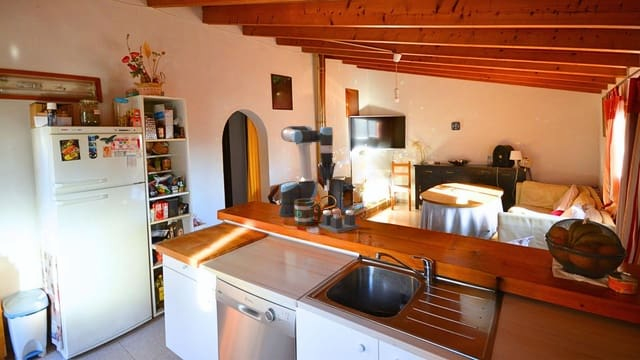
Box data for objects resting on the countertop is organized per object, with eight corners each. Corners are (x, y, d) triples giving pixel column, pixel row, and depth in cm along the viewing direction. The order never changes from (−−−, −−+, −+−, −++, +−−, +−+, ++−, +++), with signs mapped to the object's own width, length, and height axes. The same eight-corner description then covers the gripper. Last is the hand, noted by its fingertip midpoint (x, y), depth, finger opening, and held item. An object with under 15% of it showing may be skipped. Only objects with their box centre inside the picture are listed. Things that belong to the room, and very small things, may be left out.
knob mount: (318, 226, 220) (318, 214, 219) (339, 222, 231) (339, 210, 230) (336, 233, 206) (336, 220, 205) (358, 227, 217) (358, 215, 216)
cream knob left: (344, 223, 218) (344, 210, 217) (350, 222, 221) (350, 209, 220) (349, 224, 214) (349, 212, 213) (355, 223, 217) (355, 211, 216)
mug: (290, 223, 228) (289, 201, 226) (302, 219, 239) (302, 198, 237) (314, 228, 217) (313, 204, 215) (326, 223, 228) (326, 201, 225)
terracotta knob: (330, 222, 211) (330, 209, 210) (336, 221, 214) (336, 208, 213) (336, 224, 207) (335, 210, 206) (342, 222, 210) (342, 209, 209)
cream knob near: (321, 223, 219) (321, 211, 217) (327, 222, 222) (327, 209, 220) (326, 225, 215) (326, 212, 214) (332, 223, 218) (332, 211, 217)
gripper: (322, 153, 205) (322, 192, 208) (338, 152, 213) (338, 189, 216) (314, 152, 211) (314, 190, 214) (330, 151, 219) (331, 188, 222)
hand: (326, 190), depth 215 cm, fingers closed
